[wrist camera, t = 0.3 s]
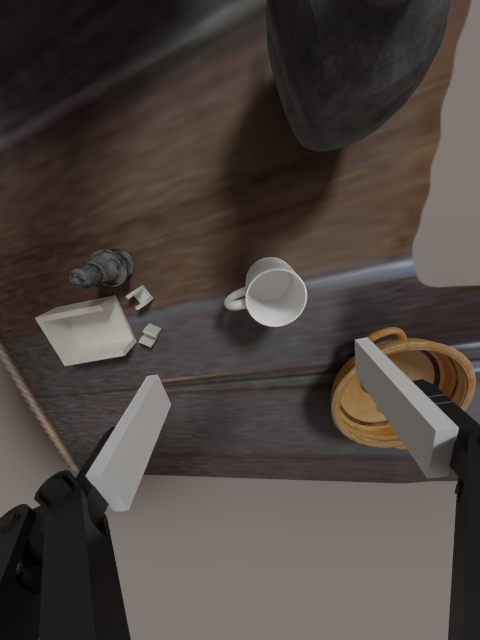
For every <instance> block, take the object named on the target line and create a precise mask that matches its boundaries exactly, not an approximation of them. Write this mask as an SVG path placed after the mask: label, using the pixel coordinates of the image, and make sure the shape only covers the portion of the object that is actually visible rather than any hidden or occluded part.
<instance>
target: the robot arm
mask: <svg viewBox="0 0 480 640" xmlns="http://www.w3.org/2000/svg"><path fill="white" fill-rule="evenodd" d="M355 371H356V376H357V378H358V379H359V380H360V382H361V383H362V385H363V386H364V388H365V389H366V391H367V392H368V393H369V395H370V396H371V398H372V399H373V401H374V402H375V403H376V405H377V406H378V408H379V409H380V411H381V412H382V414H383V415H384V416H385V418H386V419H387V421H388V422H389V424H390V425H391V426H392V428H393V429H394V431H395V432H396V434H397V435H398V437H399V438H400V439H401V441H402V442H403V444H404V445H405V447H406V448H407V449H408V451H409V452H410V454H411V455H412V457H413V458H414V460H415V461H416V462H417V464H418V465H419V467H420V468H421V470H422V471H423V472H424V474H425V475H426V477H427V478H436V477H446V476H448V474H449V470H450V467H451V468H452V469H453V471H454V472H455V473H456V474H457V475H458V477H459V478H458V482H457V485H456V489H455V493H456V494H457V500H456V516H455V533H454V550H453V566H452V583H451V601H450V616H449V632H448V640H480V425H479V424H478V423H477V422H476V421H475V420H473V419H472V418H471V417H470V416H469V415H468V414H467V413H466V412H464V411H463V410H462V409H461V408H460V407H459V406H458V405H457V404H455V403H454V402H452V400H451V399H450V398H449V397H448V396H446V395H445V394H444V393H443V392H442V391H441V390H440V389H439V388H437V387H436V386H435V385H433V384H431V383H429V382H427V381H426V380H424V379H420V380H413V381H411V380H410V379H409V378H408V377H407V376H406V375H405V374H404V373H403V372H402V371H401V370H400V369H399V368H398V367H397V366H396V365H395V364H394V363H393V362H392V361H391V360H390V359H389V358H388V357H387V356H386V355H385V354H384V353H383V352H382V351H381V350H380V349H379V348H378V347H377V346H376V345H375V344H374V343H373V342H372V341H371V340H370V339H369V338H368V337H367V338H361V339H355ZM170 406H171V403H170V401H169V398H168V396H167V394H166V392H165V390H164V388H163V385H162V383H161V381H160V379H159V377H158V374H157V375H151V376H147V377H146V379H145V380H144V382H143V384H142V385H141V387H140V389H139V390H138V392H137V393H136V395H135V397H134V398H133V400H132V401H131V403H130V405H129V406H128V408H127V409H126V411H125V413H124V414H123V416H122V418H121V419H120V421H119V422H118V424H117V426H116V427H112V428H110V429H109V430H108V431H107V432H106V433H105V434H104V435H103V437H102V438H101V440H100V442H99V443H98V446H96V448H95V449H94V451H93V454H91V455H90V457H89V458H88V460H87V462H86V463H85V465H84V466H83V468H82V469H81V471H80V472H79V474H78V475H77V477H76V478H75V477H74V476H73V475H72V474H71V473H70V471H67V470H64V471H60V472H58V473H56V474H54V475H53V476H52V477H50V478H49V479H47V480H46V481H45V482H44V483H43V484H42V486H41V487H40V488H39V489H38V491H37V492H36V495H35V498H34V499H35V500H36V501H37V502H38V503H39V504H40V505H41V506H39V507H37V508H34V509H31V508H30V507H29V506H28V505H27V504H21V505H18V506H16V507H14V508H13V509H11V510H10V511H8V512H7V513H6V514H5V515H3V516H2V517H1V518H0V640H38V639H39V640H131V639H130V634H129V629H128V624H127V618H126V613H125V608H124V603H123V598H122V593H121V587H120V582H119V577H118V572H117V566H116V561H115V556H114V551H113V546H112V541H111V535H110V530H109V526H108V520H107V517H106V515H105V514H104V512H105V511H106V509H107V507H108V505H109V506H110V508H111V509H112V510H113V511H114V512H118V511H128V510H129V509H130V506H131V504H132V501H133V499H134V496H135V494H136V491H137V488H138V486H139V484H140V481H141V479H142V476H143V474H144V471H145V469H146V466H147V464H148V461H149V459H150V456H151V454H152V451H153V449H154V446H155V444H156V441H157V439H158V436H159V434H160V431H161V429H162V426H163V424H164V421H165V419H166V416H167V414H168V411H169V408H170ZM18 564H19V566H18ZM17 567H18V569H17ZM16 570H17V571H16Z"/></svg>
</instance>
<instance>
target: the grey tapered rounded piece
mask: <svg viewBox="0 0 480 640" xmlns="http://www.w3.org/2000/svg"><path fill="white" fill-rule="evenodd" d="M134 271H135V264H134V261H133V259H132V258H131V256H130V255H129V254H128V253H127V252H125V251H123V250H120V249H112V250H110V251H109V250H99V251H97V252H95V253H94V254H93V255H92V256H91V258H90V262H86V263H84V264H83V265H82V267H79V268H76V269H73V270H72V271H71V272H70V273H69V280H70V282H71V284H72V285H73V286H74V287H76V288H78V289H81V290H85V289H88V288H91V287H93V286H96V287H98V286H102V285H106V286H109V287H116V286H119V285H121V284H122V283H123V282H124V281H125V279H128V278H130V277H131V276H132V275H133V273H134Z"/></svg>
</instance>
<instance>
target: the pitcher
mask: <svg viewBox="0 0 480 640" xmlns="http://www.w3.org/2000/svg"><path fill="white" fill-rule="evenodd" d="M449 6H450V0H267V6H266V19H267V43H268V52H269V58H270V63H271V67H272V71H273V76H274V79H275V83H276V87H277V91H278V94H279V97H280V100H281V103H282V106H283V109H284V112H285V115H286V117H287V120H288V122H289V124H290V127H291V129H292V131H293V133H294V135H295V137H296V139H297V141H298V142H299V143H300V144H301V145H302V146H304V147H305V148H307V149H309V150H312V151H315V152H323V151H332V150H336V149H340V148H344V147H346V146H348V145H350V144H352V143H354V142H357V141H359V140H361V139H363V138H365V137H366V136H368V135H369V134H371V133H372V132H374V131H375V130H377V129H378V128H379V127H380V126H382V125H383V124H384V123H385V122H386V121H387V120H388V119H389V118H390V117H392V116H393V115H394V114H395V113H396V112H397V111H398V110H399V109H400V108H401V107H402V106H403V105H404V104H405V102H406V101H407V100H408V99H409V97H410V96H411V95H412V94H413V92H414V91H415V90H416V88H417V87H418V86H419V84H420V83H421V81H422V80H423V78H424V76H425V74H426V73H427V71H428V69H429V67H430V65H431V63H432V61H433V60H434V58H435V56H436V54H437V52H438V49H439V47H440V45H441V42H442V40H443V36H444V32H445V28H446V24H447V19H448V12H449Z"/></svg>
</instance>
